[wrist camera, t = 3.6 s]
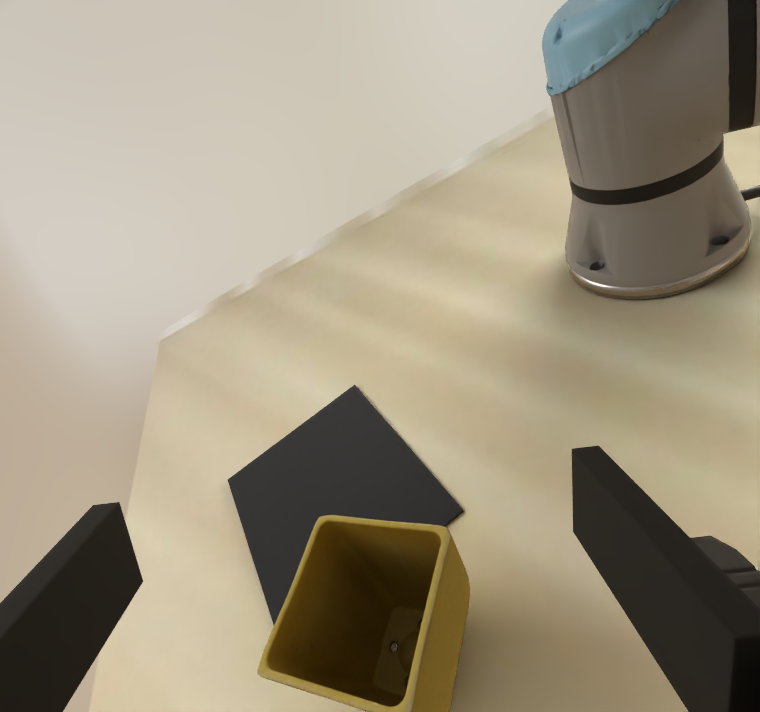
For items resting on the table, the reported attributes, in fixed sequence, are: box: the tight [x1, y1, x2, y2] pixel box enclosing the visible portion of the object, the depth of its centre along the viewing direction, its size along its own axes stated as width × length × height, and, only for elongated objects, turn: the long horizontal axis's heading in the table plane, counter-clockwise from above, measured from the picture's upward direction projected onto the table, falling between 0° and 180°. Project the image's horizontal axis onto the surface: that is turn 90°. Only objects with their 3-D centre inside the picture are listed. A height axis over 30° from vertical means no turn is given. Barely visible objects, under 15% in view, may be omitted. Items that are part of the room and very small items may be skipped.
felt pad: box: [228, 385, 464, 625], centre depth 44 cm, size 20×16×1 cm
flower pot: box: [258, 515, 470, 712], centre depth 28 cm, size 9×9×9 cm
